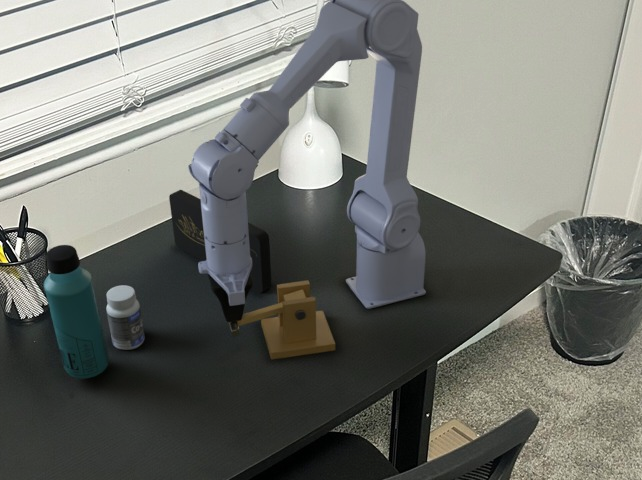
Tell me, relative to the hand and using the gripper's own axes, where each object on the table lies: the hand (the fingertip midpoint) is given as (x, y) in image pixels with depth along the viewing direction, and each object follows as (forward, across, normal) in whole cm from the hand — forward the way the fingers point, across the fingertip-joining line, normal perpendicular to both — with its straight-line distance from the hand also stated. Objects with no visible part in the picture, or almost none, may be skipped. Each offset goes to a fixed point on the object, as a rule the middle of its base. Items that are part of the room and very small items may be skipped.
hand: (233, 318), depth 126 cm
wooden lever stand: (+5, 0, +9) cm, 10 cm away
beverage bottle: (+5, +1, -21) cm, 22 cm away
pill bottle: (+5, -5, -15) cm, 17 cm away
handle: (+1, 0, +5) cm, 5 cm away
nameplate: (+5, -21, +1) cm, 21 cm away
